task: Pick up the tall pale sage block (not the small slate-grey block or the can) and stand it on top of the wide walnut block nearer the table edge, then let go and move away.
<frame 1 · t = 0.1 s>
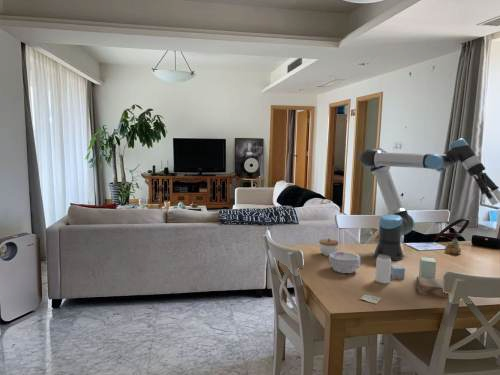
hand: (499, 202, 181), 36 cm above the table, tool tilted 35°, fingers open, 13 cm apart
sage block: (426, 280, 174), on the table
lidded jar: (328, 254, 212), on the table
paper bowls: (343, 271, 186), on the table
slate block: (397, 276, 178), on the table
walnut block: (431, 291, 161), on the table
ornament: (452, 253, 219), on the table
can: (382, 281, 172), on the table
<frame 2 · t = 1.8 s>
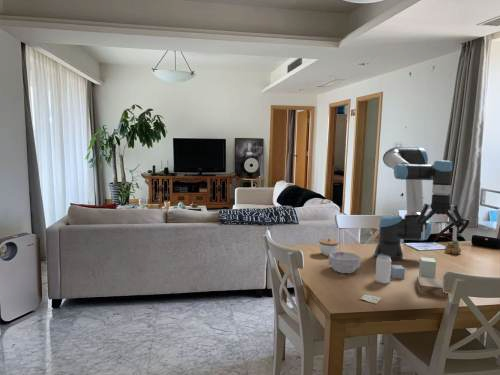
hand: (438, 239, 171), 20 cm above the table, tool pointing down, fingers open, 13 cm apart
nothing on the table moved.
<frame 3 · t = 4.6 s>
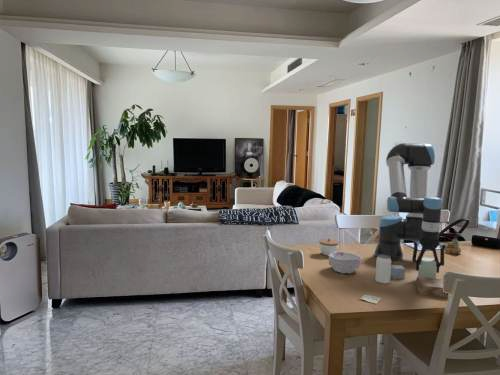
hand: (426, 278, 174), 1 cm above the table, tool pointing down, fingers closed on sage block, 6 cm apart
sage block: (426, 280, 174), on the table, touching gripper
everything else where it was.
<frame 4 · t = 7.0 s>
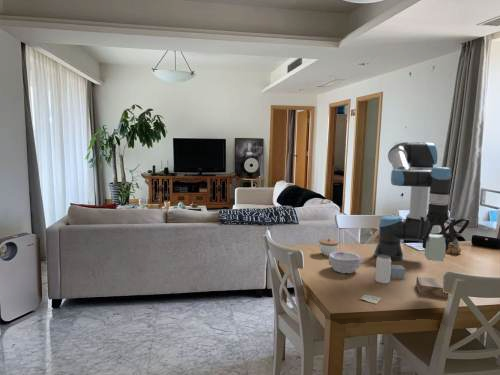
hand: (434, 256, 159), 16 cm above the table, tool pointing down, fingers closed on sage block, 6 cm apart
sage block: (434, 258, 159), point 15 cm above the table, touching gripper
everything else where it was.
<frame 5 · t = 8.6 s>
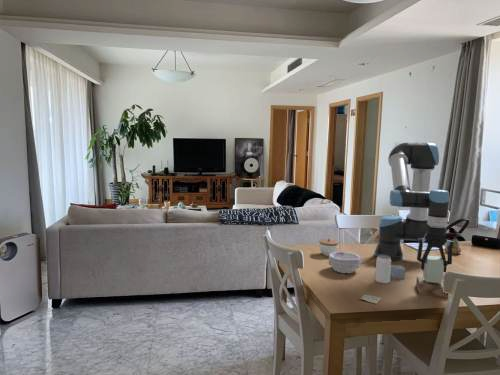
hand: (432, 278, 160), 6 cm above the table, tool pointing down, fingers closed on sage block, 6 cm apart
sage block: (432, 280, 160), point 5 cm above the table, touching gripper
everything else where it was.
when the fingers open (5 cm above the table, at t = 9.8 s): sage block stays where it is, resting on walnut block.
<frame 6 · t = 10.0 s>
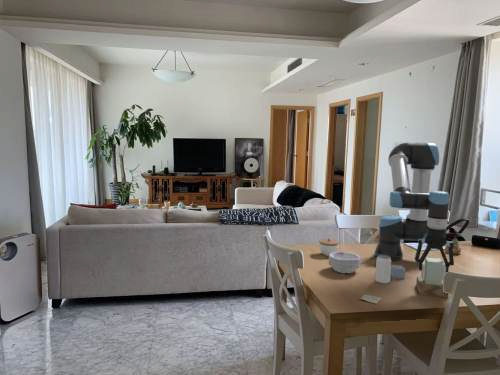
hand: (432, 278, 161), 6 cm above the table, tool pointing down, fingers open, 8 cm apart
sage block: (432, 282, 161), point 4 cm above the table, touching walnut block
everything else where it was.
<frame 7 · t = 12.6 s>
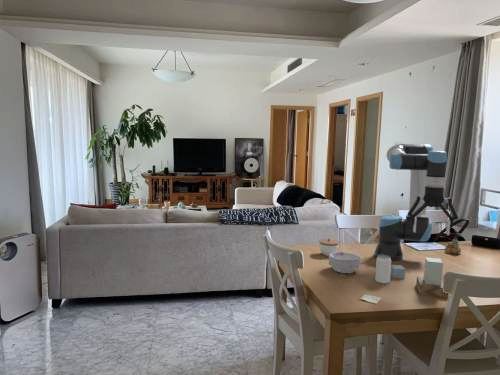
hand: (430, 233, 166), 24 cm above the table, tool pointing down, fingers open, 13 cm apart
nothing on the table moved.
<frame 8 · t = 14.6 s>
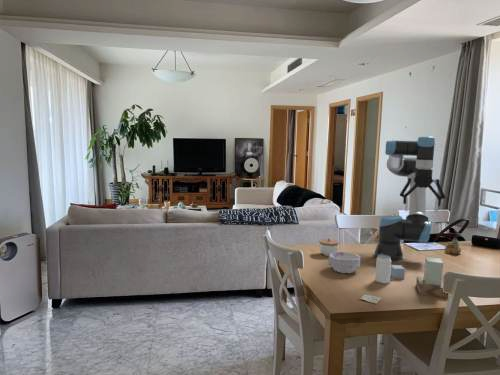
hand: (420, 211, 182), 31 cm above the table, tool pointing down, fingers open, 13 cm apart
nothing on the table moved.
at the end: sage block inside the target area on the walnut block (0.0 cm from its centre), point 4.0 cm above the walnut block's base; sage block tilted 0°; the gripper is holding nothing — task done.
